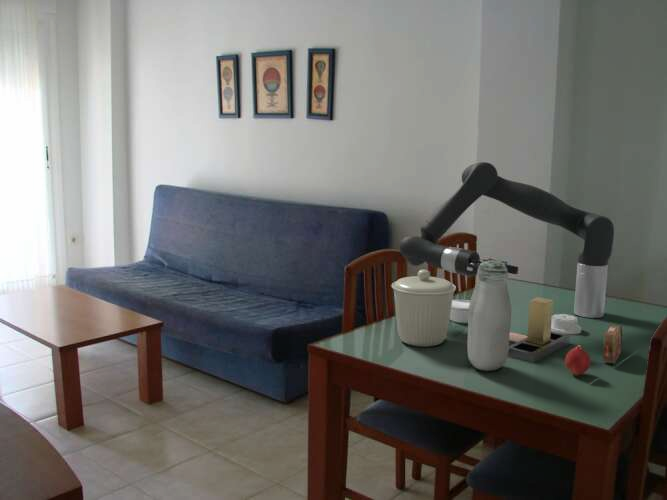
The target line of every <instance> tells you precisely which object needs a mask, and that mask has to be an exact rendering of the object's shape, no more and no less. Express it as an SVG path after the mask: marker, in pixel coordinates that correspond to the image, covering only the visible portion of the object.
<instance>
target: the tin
mask: <svg viewBox="0 0 667 500" xmlns="http://www.w3.org/2000/svg"><path fill="white" fill-rule="evenodd" d="M622 346H623V329H622V325H615V324H612V325H610V326H609V327H608V328H607V330H606V331H605V333H604V336H603V362H604V363H605V364H613V365H615V364H616V361H617V360H618V359H619V356H620V355H621V354H622V349H623V347H622Z"/></svg>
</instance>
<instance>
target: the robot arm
mask: <svg viewBox="0 0 667 500" xmlns="http://www.w3.org/2000/svg"><path fill="white" fill-rule="evenodd" d="M461 182H462V185H461V186H460V187H459V188H458V190H457V191H455V192H454V193H453V194H452V195H451V196H450V197H449V198H448V199H447V200H446V201H444V202H443V203H442V204H441V205H440V206H439V207H437V208H436V210H434V211H433V212H432V213H431V215H429V217H428V218H427V219H426V220H425V221H424V223H422V225H421V226H420V236H417V235H408V236H406V237H403V238H402V239H401V240H400V242H399V245H398V248H399V252H400V254H401V255H402V256H403V257H404V259H405V260H406V262H408V263H409V265H411V266H413V267H414V266H415V267H417V266H418V267H419V266H421V265H423V264H424V263H426V264H427V265H428V266H430V267H432V268H436V269H440V270H445V271H447V272H449V273H454V274H458V275H461V276H465V277H474V276H477V271H478V267H479V265H480V264H481V263H483V262H485V261H492V260H493V261H501V262H502V263H504V264H505V266H506V267H507V270H508V274H512V275H517V274H518V273H519V267H518V266H517V265H516V266H515V265H512V264H508V262H507V261H502V260H498V259H493V258H482V259H481V258H480V255H479V252H477V251H475V250H470V249H465V248H459V247H453V246H446V245H442V244H438V242H439V240H441V238H442V237H443V236H444V235H445V234H446V232H447V231H449V229H450V228H451V227H452V226H453V225H454V224H455V223H456V221H457V220H458V219H459V218H460V217H461V216H462V215H463V214H464V213H465V211H467V209H468V208H470V207H471V205H473V204H474V203H475V202H476V201H477V200H478V199H480V198H481V197H482V196H484V197H488V198H490V199H493V200H496V201H498V202H500V203H502V204H504V205H506V206H508V207H510V208H512V209H513V210H516V211H518V212H520V213H523V214H524V215H526V216H527V217H528V216H529V217H530V218H533V219H535V220H538V221H541V222H542V223H547V224H551V225H554V226H558V227H560V228H563V229H565V230H567V231H569V232H570V233H572V234H573V235H575V236H577V237H579V238H580V239H582V240H584V244H583V250H582V252H580V253H578V255H577V266H576V278H575V279H576V280H575V281H576V282H575V289H574V290H575V294H574V306H573V314H574V315H577V316H579V317H583V318H592V319H597V318H599V319H600V318H602V317H604V314H605V304H606V303H605V302H606V291H607V279H608V270H609V269H608V267H609V259H610V258H611V255H612V252H613V245H614V238H615V237H614V236H615V229H614V224H613V222H612V220H611V219H610V218H608V216H604V215H601V214H597V213H594V212H593V213H592V212H589V211H585V210H581V209H579V208H576V207H573V206H571V205H569V204H567V202H565V201H563V200H562V199H561V198H558V197H557V196H556V195H554V194H552V193H550V192H548V191H546V190H544V189H541V188H539V187H537V186H534V185H530V184H526V183H522V182H518V181H512V180H508V179H506V178H503V177H501V176H500V175H498V170H497V168H496V167H495V165H493V164H492V163H489V162H485V161H481V162H480V161H479V162H477V163H474V164H473V163H472V164H471V165H469V166H467V167H466V168H465V169H464V170H463V171H462V173H461Z"/></svg>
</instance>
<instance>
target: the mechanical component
mask: <svg viewBox="0 0 667 500" xmlns="http://www.w3.org/2000/svg"><path fill="white" fill-rule="evenodd" d="M578 320H579V319H578V318H577V316H573V315H571V314H565V313H561V314H560V313H559V314H554V315H552V322H551V332H555V333H560V334H564V335H579V334H581V333H582V326H580V325H578Z"/></svg>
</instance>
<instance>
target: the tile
mask: <svg viewBox="0 0 667 500" xmlns="http://www.w3.org/2000/svg"><path fill="white" fill-rule="evenodd" d="M527 337H528V335H525V334H520V333H517V332H516V333H515V332H512V331H510V335H509V342H510V341H511V342H515V343H516V342H519V341H521V340H523V339H525V338H527Z"/></svg>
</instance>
